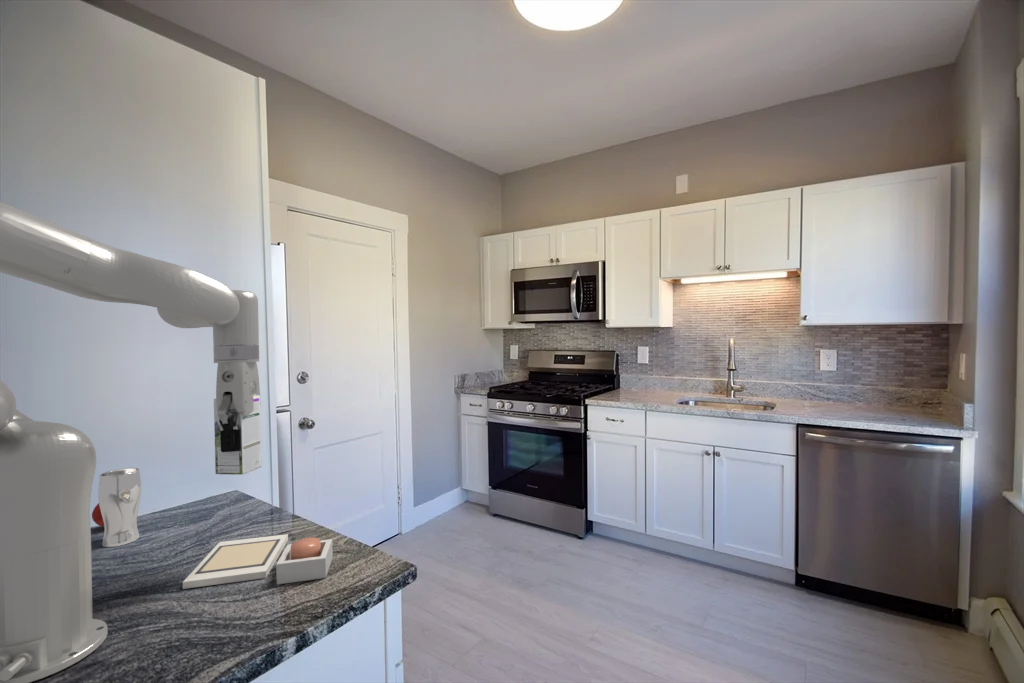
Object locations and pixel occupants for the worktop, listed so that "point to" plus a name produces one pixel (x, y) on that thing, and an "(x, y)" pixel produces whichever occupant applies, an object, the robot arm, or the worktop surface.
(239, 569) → the picture board
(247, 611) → the worktop surface
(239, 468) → the syrup box
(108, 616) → the worktop surface
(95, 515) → the onion
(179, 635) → the worktop surface
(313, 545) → the button
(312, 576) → the button housing
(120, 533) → the beer glass
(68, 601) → the robot arm
